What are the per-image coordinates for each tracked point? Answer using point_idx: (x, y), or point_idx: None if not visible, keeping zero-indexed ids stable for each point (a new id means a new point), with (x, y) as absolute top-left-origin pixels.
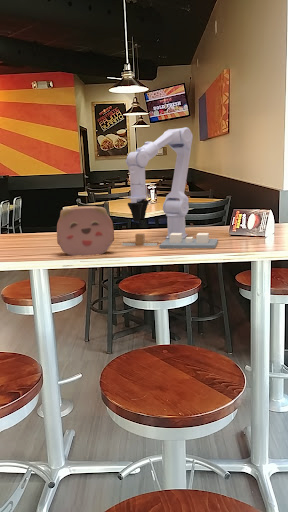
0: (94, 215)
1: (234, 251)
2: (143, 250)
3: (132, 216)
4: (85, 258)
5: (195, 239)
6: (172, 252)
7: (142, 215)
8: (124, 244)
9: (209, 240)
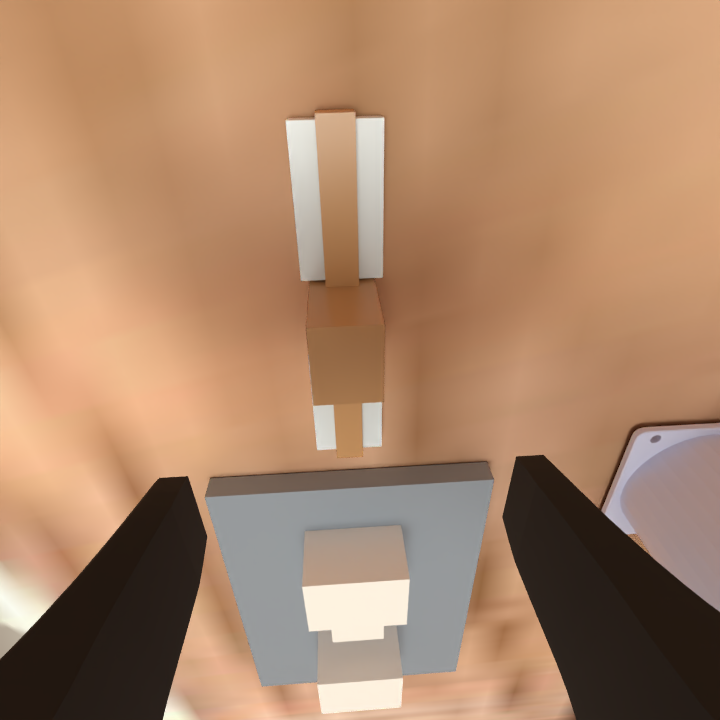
0: None
1: (219, 712)
2: (92, 403)
3: (96, 554)
4: None
5: (444, 610)
6: None
7: (532, 557)
8: (288, 151)
9: (405, 656)
